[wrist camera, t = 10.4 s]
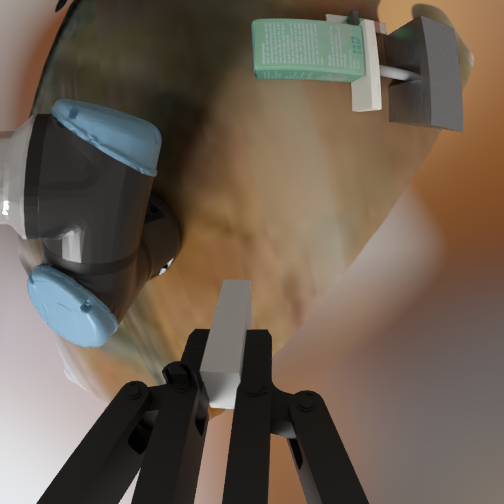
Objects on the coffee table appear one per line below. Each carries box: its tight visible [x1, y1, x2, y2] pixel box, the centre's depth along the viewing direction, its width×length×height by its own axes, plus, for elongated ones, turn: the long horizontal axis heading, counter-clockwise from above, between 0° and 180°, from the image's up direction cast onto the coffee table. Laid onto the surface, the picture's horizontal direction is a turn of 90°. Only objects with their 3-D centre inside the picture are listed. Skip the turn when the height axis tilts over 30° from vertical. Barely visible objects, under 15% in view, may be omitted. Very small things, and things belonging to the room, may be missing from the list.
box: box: [251, 19, 365, 82], centre depth 27 cm, size 7×14×8 cm, turn 92°
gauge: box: [325, 14, 463, 132], centre depth 24 cm, size 14×16×12 cm
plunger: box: [348, 10, 421, 112], centre depth 25 cm, size 13×16×8 cm
